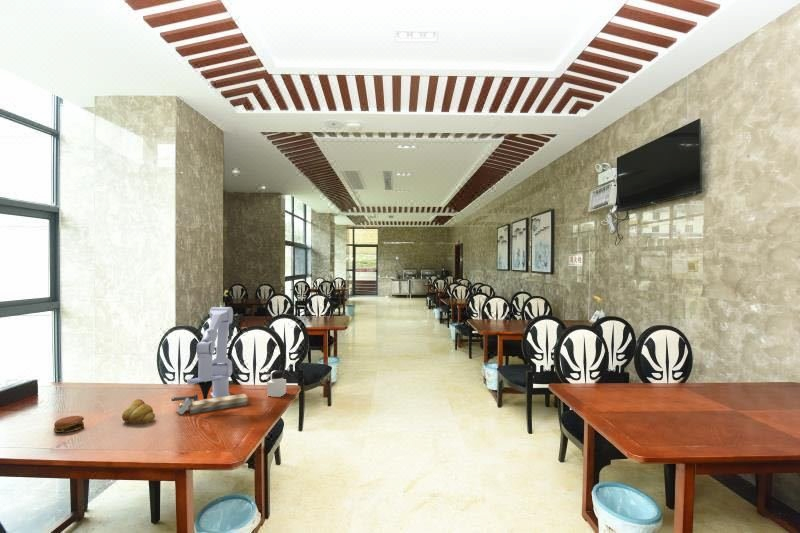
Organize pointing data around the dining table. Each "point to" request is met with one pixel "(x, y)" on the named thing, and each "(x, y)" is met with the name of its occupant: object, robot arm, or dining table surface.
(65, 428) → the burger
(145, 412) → the bread roll
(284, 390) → the grey padlock
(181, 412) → the lever cap
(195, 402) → the plane body
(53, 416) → the dining table surface
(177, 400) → the lever
